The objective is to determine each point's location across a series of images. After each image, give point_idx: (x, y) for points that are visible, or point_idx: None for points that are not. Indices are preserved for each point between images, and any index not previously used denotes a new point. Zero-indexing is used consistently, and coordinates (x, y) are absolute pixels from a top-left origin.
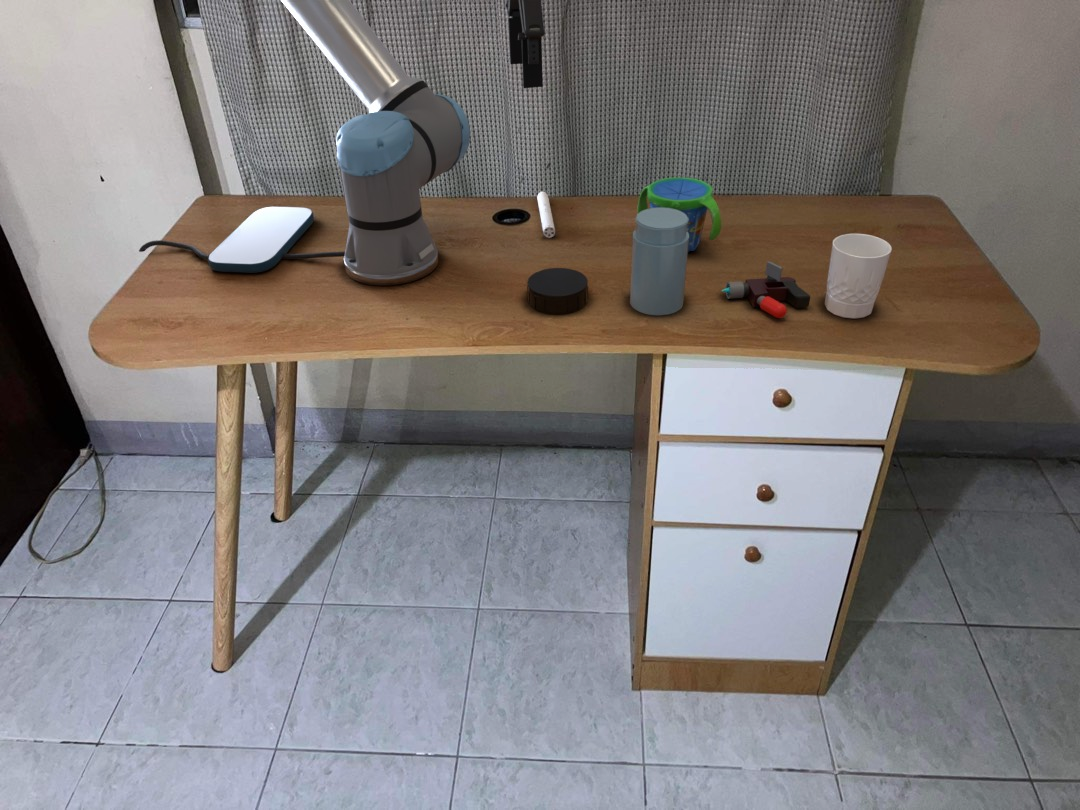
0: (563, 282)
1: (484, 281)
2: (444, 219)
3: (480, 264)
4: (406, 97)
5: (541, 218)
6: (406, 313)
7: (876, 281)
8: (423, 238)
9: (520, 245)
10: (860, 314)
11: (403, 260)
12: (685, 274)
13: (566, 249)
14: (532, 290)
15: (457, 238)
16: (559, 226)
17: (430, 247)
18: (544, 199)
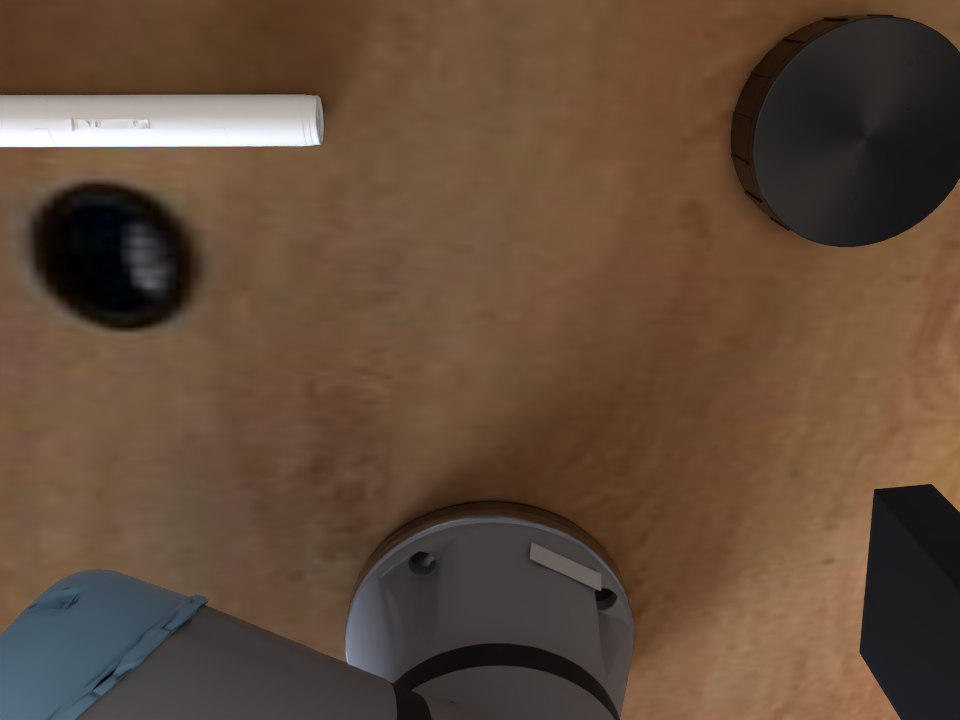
0: (879, 115)
1: (647, 363)
2: (141, 493)
3: (521, 374)
4: None
5: (193, 145)
6: (796, 565)
7: None
8: (551, 596)
9: (382, 234)
10: None
11: (603, 621)
12: None
13: (434, 55)
14: (901, 232)
15: (306, 448)
16: (207, 63)
17: (542, 557)
18: (11, 121)
